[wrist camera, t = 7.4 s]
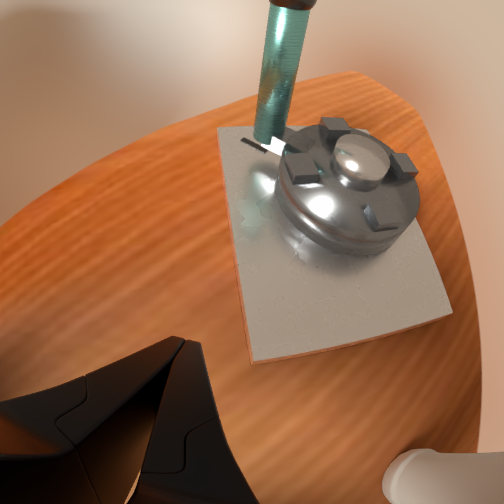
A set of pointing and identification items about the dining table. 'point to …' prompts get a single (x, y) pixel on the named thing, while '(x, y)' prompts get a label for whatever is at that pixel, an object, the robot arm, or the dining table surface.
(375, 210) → the joystick
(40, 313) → the dining table surface
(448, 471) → the bottle
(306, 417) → the dining table surface
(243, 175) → the base plate
